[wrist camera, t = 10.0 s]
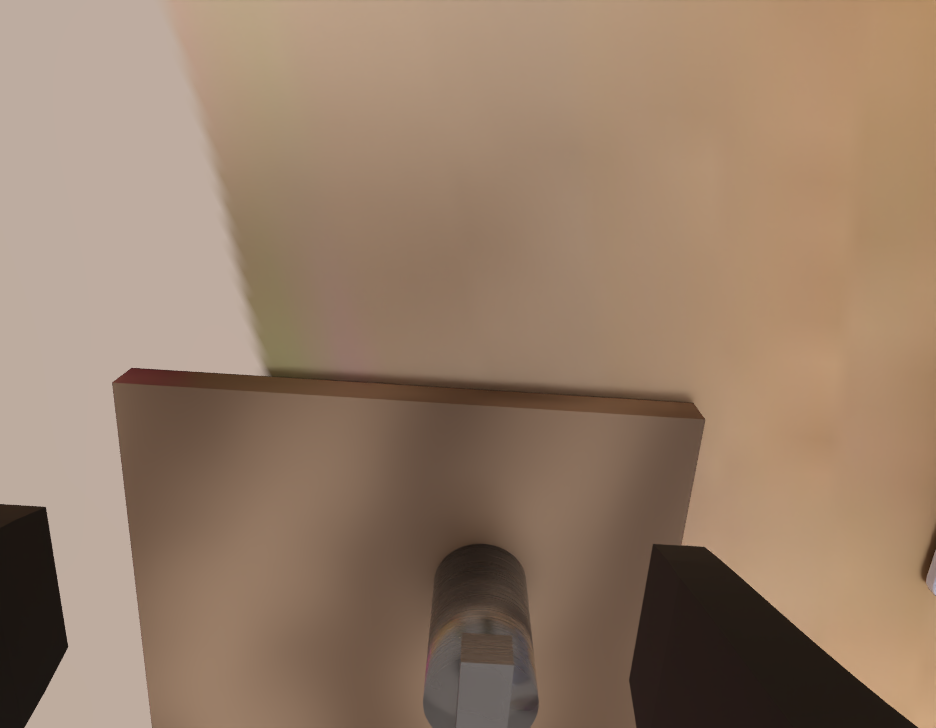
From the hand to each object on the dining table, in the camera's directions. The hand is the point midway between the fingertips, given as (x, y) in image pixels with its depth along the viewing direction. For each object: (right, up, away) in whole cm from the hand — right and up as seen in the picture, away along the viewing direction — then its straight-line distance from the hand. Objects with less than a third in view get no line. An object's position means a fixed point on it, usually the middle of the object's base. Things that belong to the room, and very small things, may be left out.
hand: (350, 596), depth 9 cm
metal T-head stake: (+2, -3, +10) cm, 11 cm away
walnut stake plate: (0, -3, +11) cm, 12 cm away
